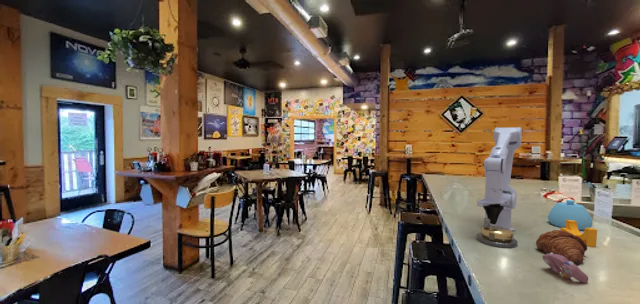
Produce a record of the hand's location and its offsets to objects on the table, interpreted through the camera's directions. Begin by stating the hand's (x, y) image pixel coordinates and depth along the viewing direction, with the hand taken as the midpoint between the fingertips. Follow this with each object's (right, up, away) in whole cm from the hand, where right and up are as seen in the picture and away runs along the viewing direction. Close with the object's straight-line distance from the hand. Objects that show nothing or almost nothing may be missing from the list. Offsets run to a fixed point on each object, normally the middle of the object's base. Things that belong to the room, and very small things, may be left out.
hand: (492, 223), depth 111 cm
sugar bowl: (+45, -6, +17) cm, 48 cm away
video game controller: (+2, -8, -30) cm, 31 cm away
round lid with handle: (-1, -4, -4) cm, 6 cm away
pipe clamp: (+31, -7, -2) cm, 32 cm away
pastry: (+15, -7, -13) cm, 21 cm away
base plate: (-1, -6, -4) cm, 7 cm away
